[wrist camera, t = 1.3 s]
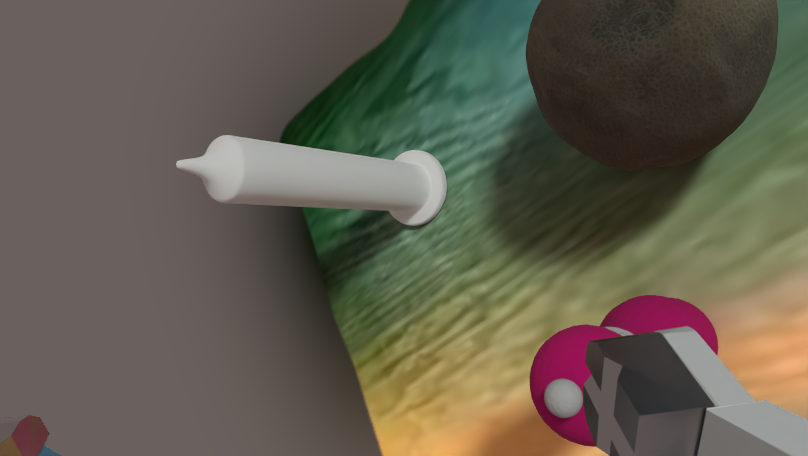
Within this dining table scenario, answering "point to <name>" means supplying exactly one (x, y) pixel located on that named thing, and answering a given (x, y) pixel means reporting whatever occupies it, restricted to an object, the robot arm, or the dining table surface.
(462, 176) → the dining table surface
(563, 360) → the pepper mill
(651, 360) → the robot arm
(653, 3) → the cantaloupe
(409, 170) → the candle
